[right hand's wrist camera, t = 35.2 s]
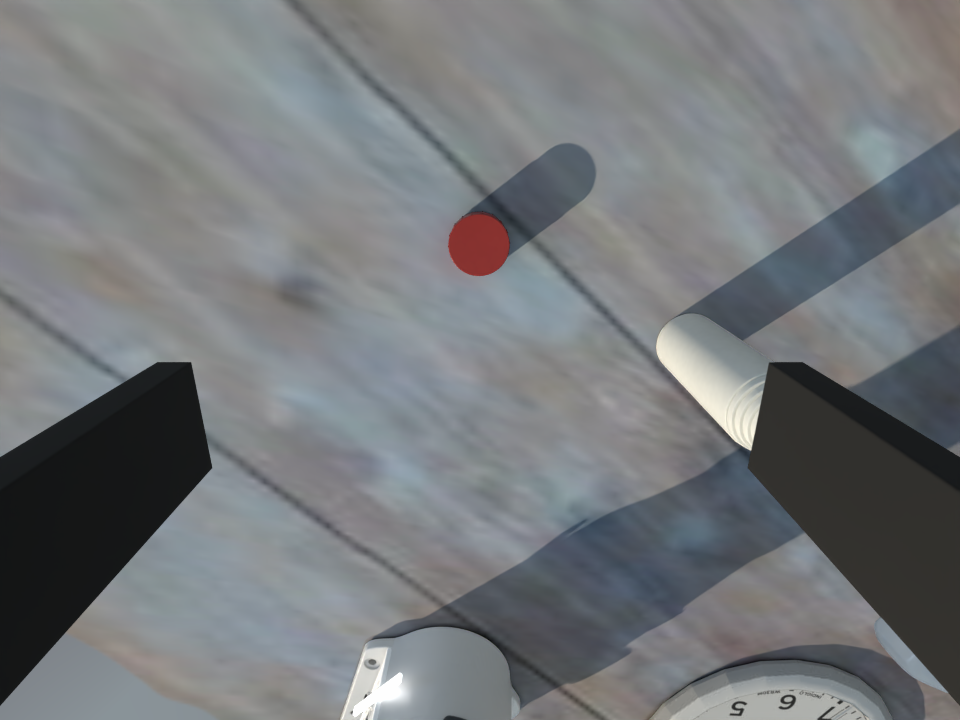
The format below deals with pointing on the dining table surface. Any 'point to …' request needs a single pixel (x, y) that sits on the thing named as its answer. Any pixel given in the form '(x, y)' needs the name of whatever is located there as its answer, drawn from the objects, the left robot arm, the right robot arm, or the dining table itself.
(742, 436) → the bottle
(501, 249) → the cap
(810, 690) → the wall clock
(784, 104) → the dining table surface
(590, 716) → the dining table surface
